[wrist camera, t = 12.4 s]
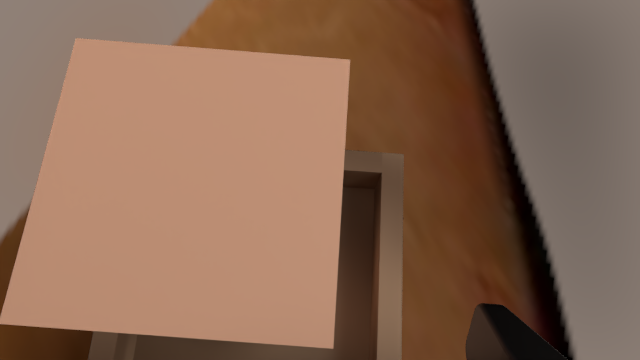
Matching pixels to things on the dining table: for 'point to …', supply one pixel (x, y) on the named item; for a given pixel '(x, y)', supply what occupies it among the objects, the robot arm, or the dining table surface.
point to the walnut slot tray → (352, 283)
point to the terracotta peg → (188, 197)
